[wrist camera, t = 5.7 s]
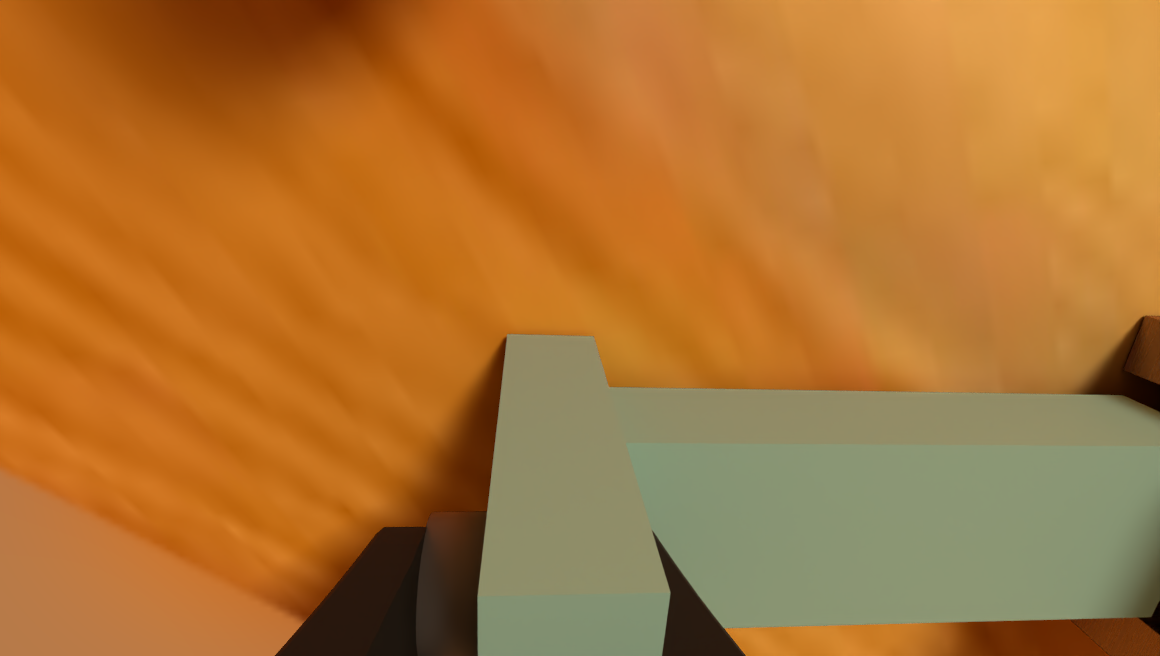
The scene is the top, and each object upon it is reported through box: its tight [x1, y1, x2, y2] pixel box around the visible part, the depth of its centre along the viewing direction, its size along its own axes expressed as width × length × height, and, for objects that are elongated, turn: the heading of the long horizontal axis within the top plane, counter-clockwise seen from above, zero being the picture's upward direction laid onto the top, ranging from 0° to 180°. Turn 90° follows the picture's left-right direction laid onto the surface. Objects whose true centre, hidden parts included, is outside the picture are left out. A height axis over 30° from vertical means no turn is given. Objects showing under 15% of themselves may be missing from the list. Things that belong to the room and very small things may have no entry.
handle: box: [416, 334, 1160, 656], centre depth 9 cm, size 14×6×6 cm, turn 87°
